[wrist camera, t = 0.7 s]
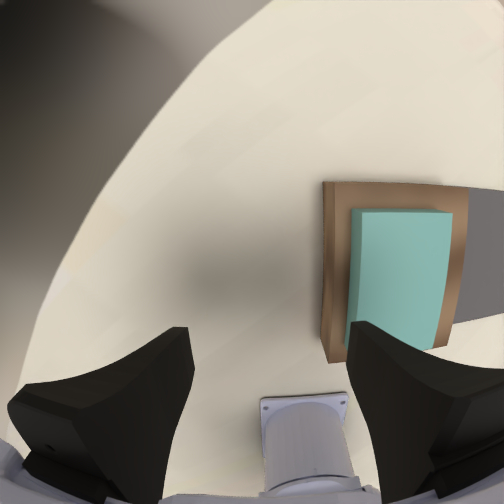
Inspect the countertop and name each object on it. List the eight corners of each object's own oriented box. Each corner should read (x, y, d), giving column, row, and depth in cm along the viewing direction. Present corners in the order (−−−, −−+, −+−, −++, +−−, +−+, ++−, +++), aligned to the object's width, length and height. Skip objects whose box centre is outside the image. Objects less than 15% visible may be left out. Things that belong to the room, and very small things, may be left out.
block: (420, 334, 18) (432, 348, 16) (344, 344, 18) (351, 360, 17) (435, 209, 16) (452, 213, 14) (351, 208, 16) (362, 212, 14)
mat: (505, 310, 21) (507, 311, 21) (432, 325, 22) (434, 327, 21) (521, 193, 18) (524, 194, 18) (447, 185, 19) (450, 185, 18)
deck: (428, 325, 22) (446, 345, 18) (320, 338, 22) (328, 363, 19) (442, 185, 19) (468, 188, 15) (322, 181, 19) (334, 182, 16)
